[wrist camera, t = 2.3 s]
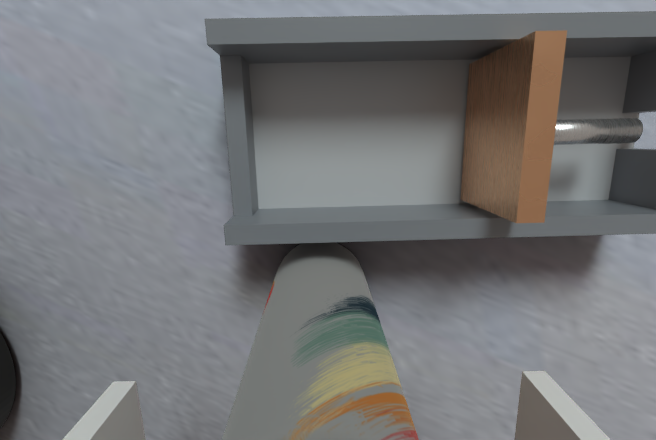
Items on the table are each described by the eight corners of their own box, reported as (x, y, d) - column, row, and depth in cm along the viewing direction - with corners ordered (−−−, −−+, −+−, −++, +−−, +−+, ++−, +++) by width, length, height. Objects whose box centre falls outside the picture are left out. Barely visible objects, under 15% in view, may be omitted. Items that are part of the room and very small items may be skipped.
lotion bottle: (286, 326, 24) (132, 1199, 4) (267, 246, 22) (-83, 970, 3) (369, 310, 24) (611, 1135, 4) (355, 229, 22) (603, 862, 3)
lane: (246, 221, 22) (219, 251, 16) (233, 48, 20) (196, 10, 14) (608, 212, 22) (711, 237, 17) (636, 41, 20) (765, 1, 14)
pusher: (460, 199, 21) (516, 223, 15) (469, 64, 19) (535, 30, 13) (581, 196, 21) (683, 218, 15) (600, 61, 19) (724, 27, 13)
